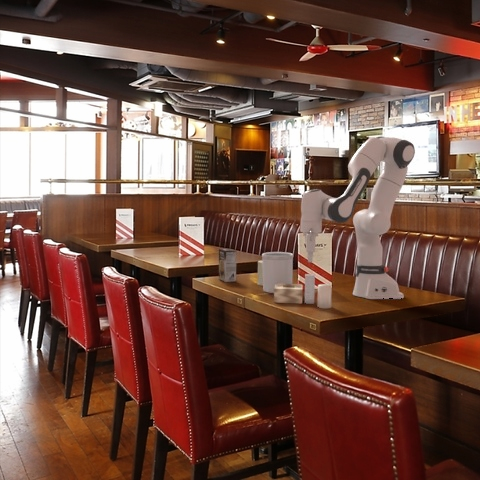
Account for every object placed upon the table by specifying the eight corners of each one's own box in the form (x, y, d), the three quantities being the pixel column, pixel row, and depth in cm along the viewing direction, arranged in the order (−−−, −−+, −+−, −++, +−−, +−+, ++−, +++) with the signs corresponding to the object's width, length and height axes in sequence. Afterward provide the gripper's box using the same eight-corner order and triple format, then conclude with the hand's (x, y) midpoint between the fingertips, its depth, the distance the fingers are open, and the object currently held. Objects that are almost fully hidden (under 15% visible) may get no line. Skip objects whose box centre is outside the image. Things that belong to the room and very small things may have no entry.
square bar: (313, 301, 236) (314, 274, 235) (314, 303, 232) (314, 275, 231) (304, 301, 237) (305, 273, 235) (304, 303, 233) (305, 275, 231)
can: (276, 286, 271) (276, 262, 269) (257, 285, 271) (257, 261, 270) (275, 282, 280) (275, 259, 279) (257, 282, 280) (257, 259, 279)
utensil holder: (265, 294, 251) (266, 256, 249) (258, 288, 266) (258, 252, 264) (296, 293, 254) (297, 255, 252) (287, 287, 269) (288, 251, 267)
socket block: (302, 297, 245) (302, 284, 244) (302, 303, 233) (302, 289, 232) (275, 296, 246) (275, 283, 245) (273, 302, 234) (274, 288, 233)
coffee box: (218, 279, 288) (218, 248, 287) (229, 278, 291) (229, 248, 289) (225, 282, 280) (225, 250, 278) (236, 281, 283) (236, 250, 281)
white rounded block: (330, 305, 229) (331, 284, 228) (331, 308, 224) (331, 286, 223) (317, 305, 230) (317, 283, 229) (317, 308, 224) (317, 286, 223)
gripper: (319, 230, 220) (318, 264, 222) (317, 226, 241) (316, 257, 242) (303, 229, 221) (302, 263, 223) (303, 225, 241) (302, 257, 243)
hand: (309, 260), depth 232 cm, fingers open, 8 cm apart
